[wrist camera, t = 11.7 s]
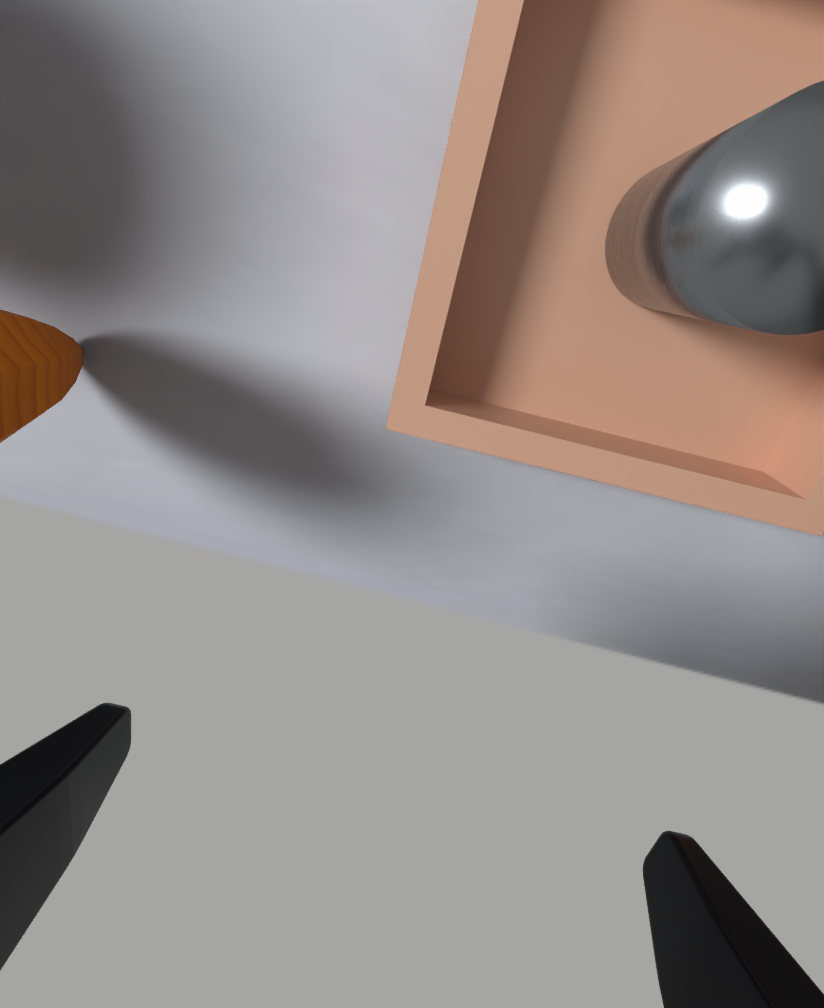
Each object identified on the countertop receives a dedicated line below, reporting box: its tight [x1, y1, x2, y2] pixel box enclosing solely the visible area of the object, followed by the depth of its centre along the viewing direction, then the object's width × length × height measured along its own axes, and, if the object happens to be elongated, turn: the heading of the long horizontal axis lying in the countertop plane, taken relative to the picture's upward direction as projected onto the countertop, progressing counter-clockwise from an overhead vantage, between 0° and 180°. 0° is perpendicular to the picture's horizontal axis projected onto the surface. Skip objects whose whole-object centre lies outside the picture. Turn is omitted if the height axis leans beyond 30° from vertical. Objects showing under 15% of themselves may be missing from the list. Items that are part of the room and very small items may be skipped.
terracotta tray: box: [386, 0, 824, 536], centre depth 15 cm, size 14×14×4 cm
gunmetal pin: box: [605, 80, 824, 335], centre depth 12 cm, size 4×4×7 cm
